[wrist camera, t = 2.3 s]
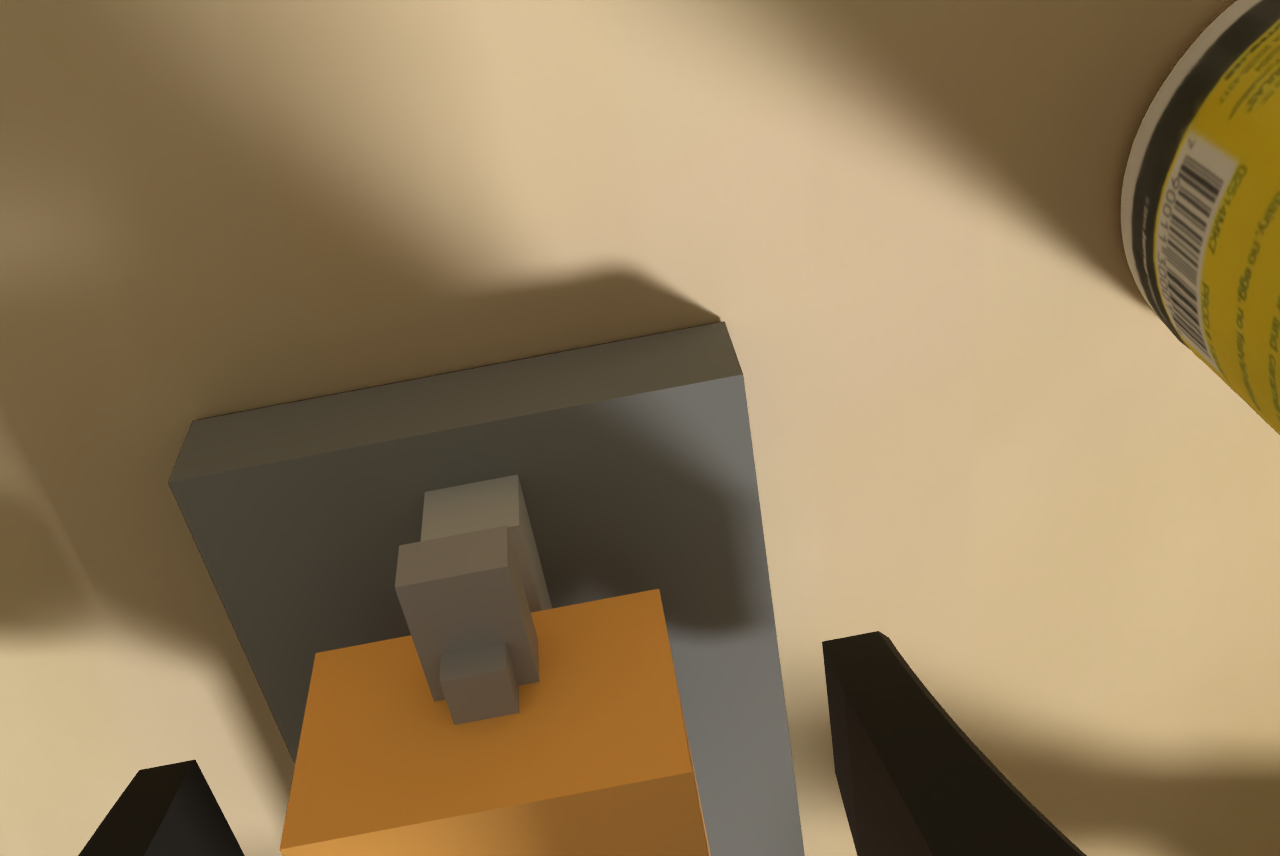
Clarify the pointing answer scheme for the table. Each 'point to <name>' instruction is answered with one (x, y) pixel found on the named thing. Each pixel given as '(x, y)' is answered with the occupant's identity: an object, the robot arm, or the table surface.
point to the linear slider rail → (519, 531)
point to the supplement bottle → (1215, 202)
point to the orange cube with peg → (496, 724)
